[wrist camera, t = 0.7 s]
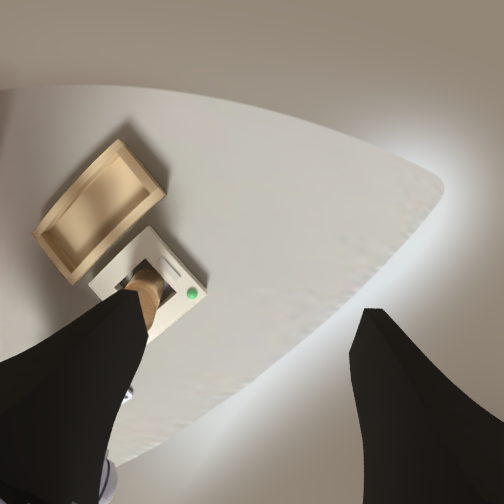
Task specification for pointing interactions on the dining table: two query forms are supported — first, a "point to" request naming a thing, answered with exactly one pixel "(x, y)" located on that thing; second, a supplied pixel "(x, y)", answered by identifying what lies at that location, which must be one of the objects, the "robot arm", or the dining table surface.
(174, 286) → the white square frame
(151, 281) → the battery cell
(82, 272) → the wooden trough
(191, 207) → the dining table surface
